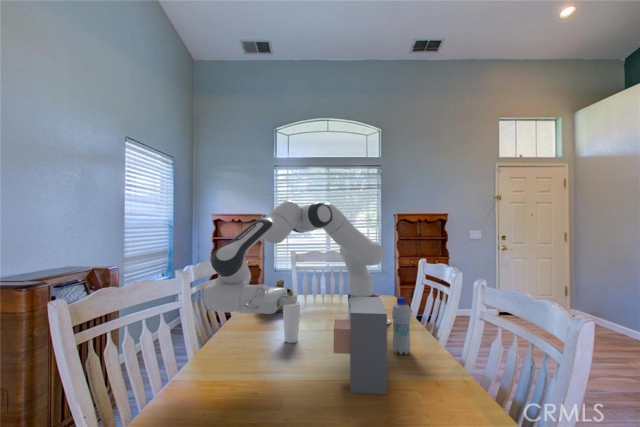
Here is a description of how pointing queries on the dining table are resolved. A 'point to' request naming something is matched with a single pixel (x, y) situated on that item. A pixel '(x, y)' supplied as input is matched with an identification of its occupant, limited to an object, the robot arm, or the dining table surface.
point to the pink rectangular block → (342, 336)
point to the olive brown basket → (289, 292)
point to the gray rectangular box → (368, 345)
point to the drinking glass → (291, 322)
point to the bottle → (401, 326)
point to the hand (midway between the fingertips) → (295, 300)
